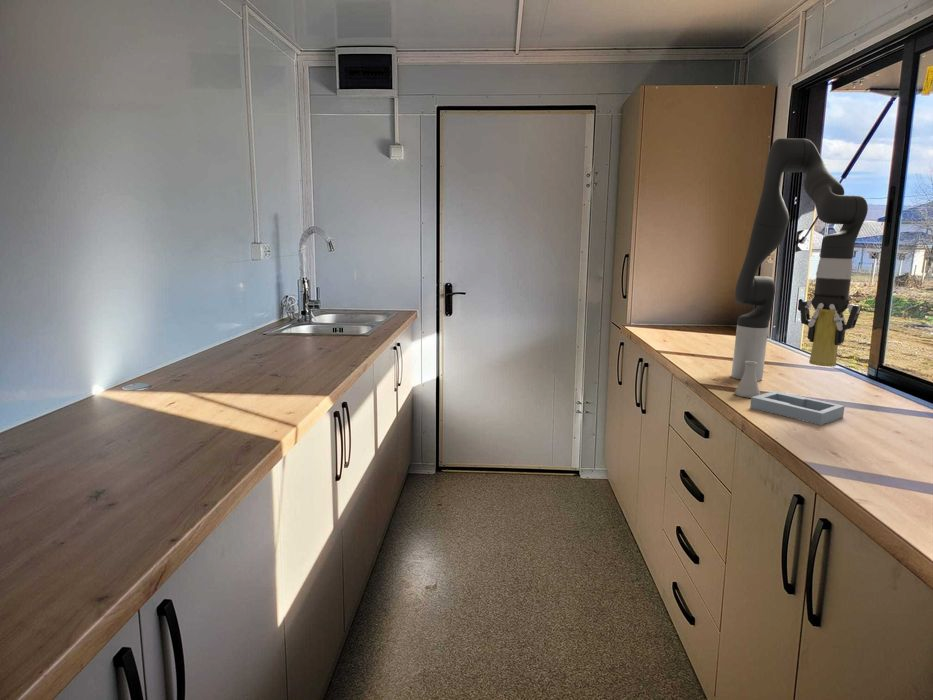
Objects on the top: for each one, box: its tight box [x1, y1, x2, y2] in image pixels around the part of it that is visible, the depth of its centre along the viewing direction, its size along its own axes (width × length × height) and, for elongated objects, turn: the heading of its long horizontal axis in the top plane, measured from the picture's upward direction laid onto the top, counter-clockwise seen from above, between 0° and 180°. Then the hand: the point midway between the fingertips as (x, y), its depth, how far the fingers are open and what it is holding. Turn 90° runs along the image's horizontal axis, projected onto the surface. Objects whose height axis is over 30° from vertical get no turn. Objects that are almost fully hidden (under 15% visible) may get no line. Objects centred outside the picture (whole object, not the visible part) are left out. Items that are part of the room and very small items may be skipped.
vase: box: [808, 309, 841, 367], centre depth 157 cm, size 6×6×14 cm
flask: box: [734, 361, 761, 399], centre depth 178 cm, size 7×7×10 cm
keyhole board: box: [750, 390, 845, 426], centre depth 163 cm, size 13×18×3 cm
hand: (824, 343), depth 158 cm, fingers closed on vase, 5 cm apart
